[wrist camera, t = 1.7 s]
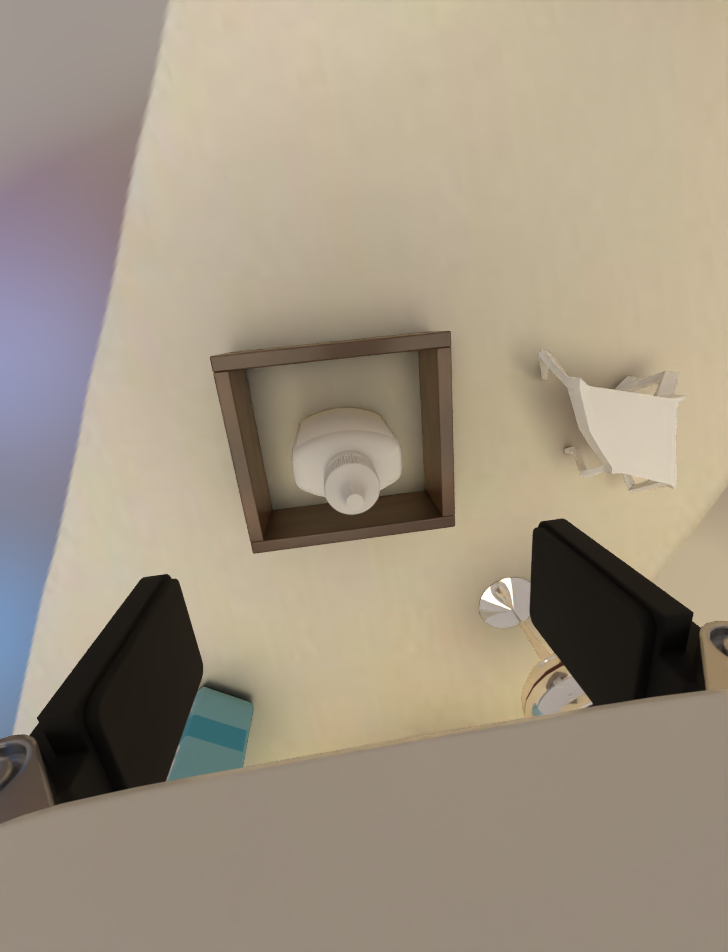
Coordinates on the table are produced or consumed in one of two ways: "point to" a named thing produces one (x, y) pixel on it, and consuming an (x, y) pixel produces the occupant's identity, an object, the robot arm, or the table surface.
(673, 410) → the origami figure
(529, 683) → the wineglass
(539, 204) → the table surface
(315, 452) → the eye dropper bottle
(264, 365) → the square wooden box frame
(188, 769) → the data package
